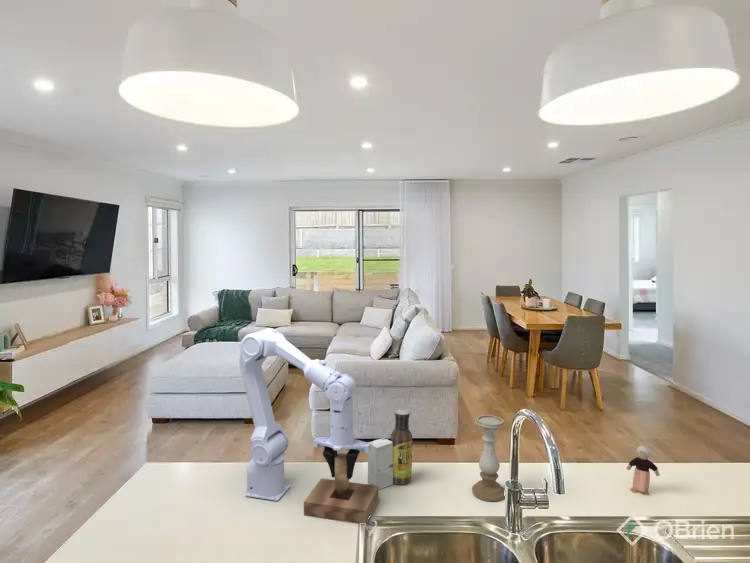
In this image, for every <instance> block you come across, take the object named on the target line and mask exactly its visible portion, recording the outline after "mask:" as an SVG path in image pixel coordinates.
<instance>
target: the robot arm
mask: <svg viewBox="0 0 750 563" xmlns="http://www.w3.org/2000/svg"><path fill="white" fill-rule="evenodd" d="M238 348H239V351H240V355H239V369H240V373H241V378H242V381H243V386H244V388H245V393H246V398H247V401H248V405H249V409H250V413H251V417H252V422H253V426H254V430H253V432H252V435H251V437H250V456H251V459H250V461H249V462H248V465H247V468H246V490H247V491H246V494H245V496H246V497H248V498H256V499H262V500H269V501H276V502H277V501H279V500H280V499H282V497H283V495H285V493H286V492H288V490H289V489H290V487H291V484H289V483H285V451H286V450H287V449H288V447H289V437H288V435H286V433H285V431H284V429H283V425H282V424H280V423H279V422H277V421H276V420H275V415H274V411H273V407H272V404H271V398H270V395H269V390H268V387H267V383H266V379H265V374H264V370H263V367H262V366H263V364H264V363H265V361H266V359H267V358H268V357H276V356H277V357H280V358H282V359H283V360H285V361H287V362H289V363H290V364H291V365H292V366H295V367H296V368H298V369H300V370H301V371H303V374H304V378H305V379H306V380H307V381H309V382H310V383H312V384H313V385H315V386H316V387H318V389H321V391H323V392H325V396H326V399H328V402H329V420H330V421H329V423H330V424H329V426H330V427H329V428H330V436H323V437H322V436H321V437H319V436H317V437H315V438H314V439H313V448H323V450H322V456H323V458H325V459H324V460H325V461H326V463H327V464H328V467H329V471H330V475H331V477H332V478H335V465H334V456H335V455H336V454H338V451H339V452H341V451H342V450H346V451H347V450H348V451H347V453H345V454H346V459H347V468H348V469H347V478H348V479H349V480H352V477H353V476H354V475H353V474H354V469H355V465H356V462H357V460H358V458H359V455H360V452H363V453H365V454H368V453H369V452H370V450H371V444H370V443H368V442H366V441H363V440H360V439H356V438H354V404H353V403H354V399H353V398H354V397H353V395H354V394H355V393H356V390H357V383H356V381H355V380H354V378H353V377H352V376H351V375H350V374H347V373H343V374H342V373H341V372H340V371H337V370H335V369H333V368H332V367H331V366H330V365H328V364H327V362H326V361H325V360H324V359H321V360H320V359H318V358H315V359H311V358H310V357H309V356H307V355H306V354H305V353H303V352H302V351H301V350H299V349H298V348H297V347H296V346H295V345H294V344H292V343H291V342H289V341H288V340H287V339H286V337H285V336H284V334H283V333H281V332H278V331H277V330H276V329H275V328H272V327H267V328H264V329H262V330H259V331H256V332H252V333H248V334H246V335H244V337H243V338H242V340H241V341H240V342H239V344H238Z"/></svg>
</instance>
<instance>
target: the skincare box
mask: <svg viewBox="0 0 750 563" xmlns="http://www.w3.org/2000/svg"><path fill="white" fill-rule="evenodd" d="M368 443H370V444H371V450H370V452H369V453H367V484H368V485H375V486H379V490H380V489H384V488H386V487H387V488H388V487H390V486H392V485H394V483H393V442H391V439H390V440H389V439H387V438H385V437H383V438H379V439H374V440H373V441H369V442H368Z"/></svg>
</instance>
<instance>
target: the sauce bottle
mask: <svg viewBox="0 0 750 563" xmlns="http://www.w3.org/2000/svg"><path fill="white" fill-rule="evenodd" d="M410 416H411V415H410V412H409V411H408V410H407V409H398V410H395V412H394V418H395V425H394V429H393V430H392V432H391V434H390V441H391V442H393V484H396V485H406V484H408V483H411V481H412V472H413V471H412V469H413V467H412V466H413V435H412V433H411V430H410V429H409V427H410V426H409V419H410Z"/></svg>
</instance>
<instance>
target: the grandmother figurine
mask: <svg viewBox="0 0 750 563" xmlns="http://www.w3.org/2000/svg"><path fill="white" fill-rule="evenodd" d="M636 452H637V457H634V458H633V459H631V460H630V461H629V462H628V464H627V466H626V470H628V471H630V470H631V469H632V468H633V467H634V471H633V477H632V486H631V487H630V489H629V491H631V492H633V493H638V492H640V494H642V495H643V496H644V495H645V496H650V492H649V490H650V481H651V473H650V470H652V471H653V472H654V474H655V476H657V477H659V476H660V475H661V474H660V472H659V469H658V466H657V465H656V464H654V462H652V461H650V460H649V457H651V455H652V452H651V451H650V449H649V448H648V447H647V446H645V445H640V446H637V449H636Z"/></svg>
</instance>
